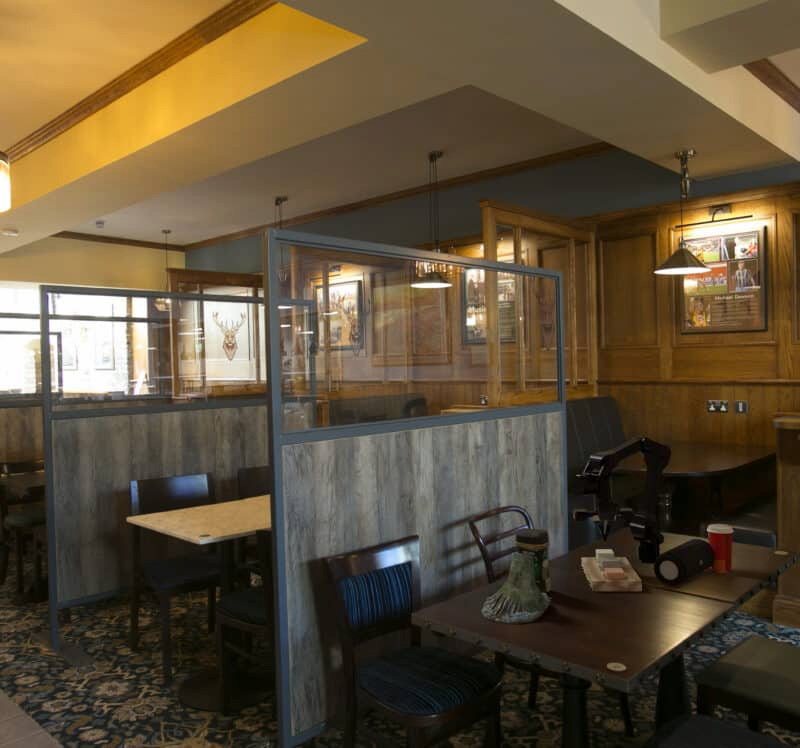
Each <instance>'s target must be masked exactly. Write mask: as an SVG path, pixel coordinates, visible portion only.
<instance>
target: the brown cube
mask: <svg viewBox="0 0 800 748" xmlns="http://www.w3.org/2000/svg"><path fill="white" fill-rule="evenodd" d="M604 572H605V580H625V574H624V571H623V570H622V568H604Z"/></svg>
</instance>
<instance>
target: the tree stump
mask: <svg viewBox="0 0 800 748" xmlns="http://www.w3.org/2000/svg"><path fill="white" fill-rule="evenodd" d="M533 561H534V557H533V556H529V555H524V554H518V552H512V553H511V562H510V569H509V574H508V576H507V580H506V581H505V582H504V583H503V584H502V585H501V586H500V587H501V588H499V589H498V591H497V592H496V593H494V594H493V595H492V596H487V597H486V601H485V602H484V603H483V607H482V608H481V614H482V616H483V617H484V618H485V619H487V620H489V621H493V622H496V623H500V624H509V625H510V624H512V625H514V624H523V623H524V624H525V623H527V624H528V623H532V622H535V621H538V620H539V618H540V617H541V616H542V615H543V614H544V613H545V612H546V610H547V609H548V608H549V607H550V603H552V600H551V599H552V597H551V596H550V597H549V596H548V593H546V594H545V593H540V590H539V588H538V587H537V585H536V583H535V575H534V562H533Z"/></svg>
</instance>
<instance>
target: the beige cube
mask: <svg viewBox="0 0 800 748" xmlns="http://www.w3.org/2000/svg"><path fill="white" fill-rule="evenodd" d="M595 557H596V562H597V563H600V557H615V552H614V551H613V550H612V549H611V548H610V549H609V548H606V549H605V548H602V549H597V548H596V549H595Z"/></svg>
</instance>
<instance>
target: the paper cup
mask: <svg viewBox="0 0 800 748" xmlns="http://www.w3.org/2000/svg"><path fill="white" fill-rule="evenodd" d="M706 531H707V536H708V543H709V544H710V545H711V547H712V548H713V551H714V554H715V561H714V563H713V565H712V566H711V567H710V568H711V571H712V570H713V571H712V572H714V573H717V572H721V573H720V574H726V573H725V572H730V571H731V572H732V562H733V561H732V560H733V559H732V557H733V533H734V532H735V531H734V530H733V527H732V526H731V525H729V524H723V523H721V524H720V523H714V524H713V523H712V524H709V525H708V527H707V529H706ZM722 572H723V573H722ZM731 572H730V573H731Z"/></svg>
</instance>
